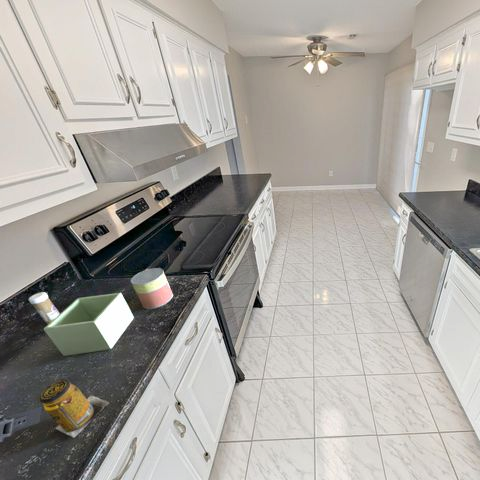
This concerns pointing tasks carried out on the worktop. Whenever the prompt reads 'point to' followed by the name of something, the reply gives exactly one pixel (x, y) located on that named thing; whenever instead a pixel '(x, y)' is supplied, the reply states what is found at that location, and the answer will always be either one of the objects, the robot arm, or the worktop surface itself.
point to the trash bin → (90, 324)
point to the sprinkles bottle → (44, 307)
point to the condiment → (70, 407)
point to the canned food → (152, 288)
